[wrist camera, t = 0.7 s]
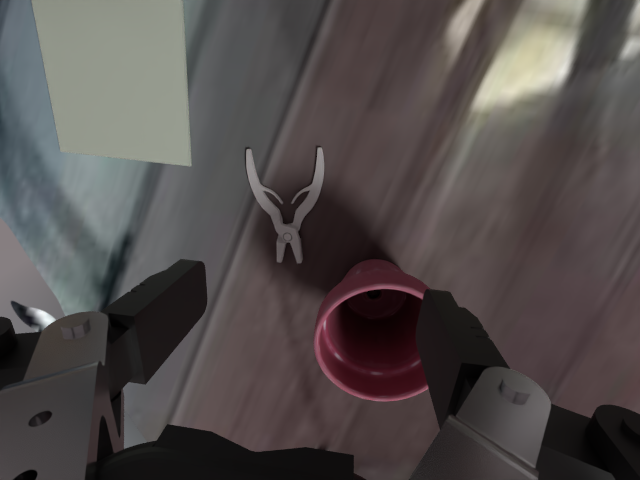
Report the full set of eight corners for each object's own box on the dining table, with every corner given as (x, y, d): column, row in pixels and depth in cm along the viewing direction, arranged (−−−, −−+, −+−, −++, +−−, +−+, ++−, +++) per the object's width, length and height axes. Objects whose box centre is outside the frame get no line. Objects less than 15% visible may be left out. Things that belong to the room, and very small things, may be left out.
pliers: (322, 147, 36) (325, 264, 41) (324, 147, 37) (326, 259, 42) (242, 149, 37) (254, 262, 42) (246, 149, 38) (257, 258, 43)
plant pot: (356, 221, 39) (356, 259, 27) (448, 270, 40) (488, 328, 28) (307, 303, 44) (289, 366, 32) (390, 345, 45) (403, 422, 33)
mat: (32, -12, 34) (28, -14, 34) (183, -1, 33) (181, -3, 33) (63, 151, 41) (60, 151, 40) (191, 165, 39) (190, 166, 39)
